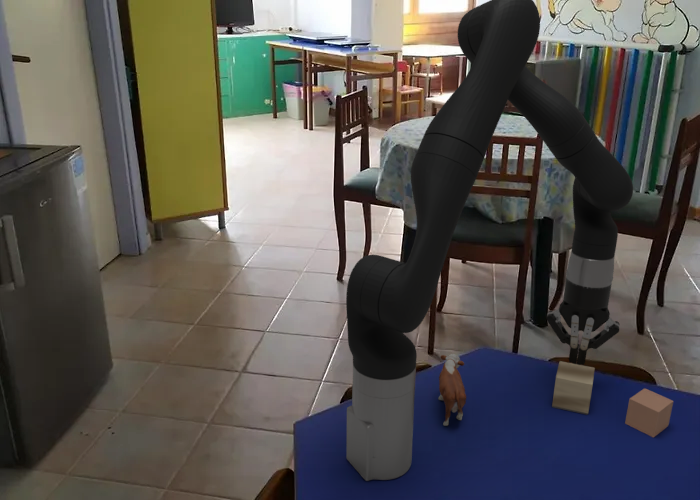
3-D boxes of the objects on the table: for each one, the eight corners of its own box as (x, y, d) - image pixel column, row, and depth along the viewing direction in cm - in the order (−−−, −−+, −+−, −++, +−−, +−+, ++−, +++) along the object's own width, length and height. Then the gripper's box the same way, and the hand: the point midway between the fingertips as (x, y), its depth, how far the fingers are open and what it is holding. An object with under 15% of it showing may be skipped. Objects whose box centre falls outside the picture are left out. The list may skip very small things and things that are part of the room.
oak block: (587, 415, 116) (592, 384, 114) (551, 407, 118) (555, 377, 116) (590, 396, 121) (594, 367, 119) (555, 389, 123) (559, 361, 121)
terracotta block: (653, 438, 110) (658, 412, 108) (624, 423, 114) (629, 398, 112) (668, 426, 113) (673, 401, 111) (639, 412, 117) (644, 388, 115)
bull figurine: (460, 388, 123) (463, 349, 121) (465, 432, 111) (468, 390, 108) (436, 386, 124) (439, 347, 121) (438, 431, 111) (441, 388, 108)
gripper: (630, 275, 118) (615, 362, 124) (552, 264, 122) (541, 348, 129) (629, 291, 111) (614, 382, 117) (547, 279, 116) (536, 367, 122)
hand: (576, 364), depth 123 cm, fingers closed
